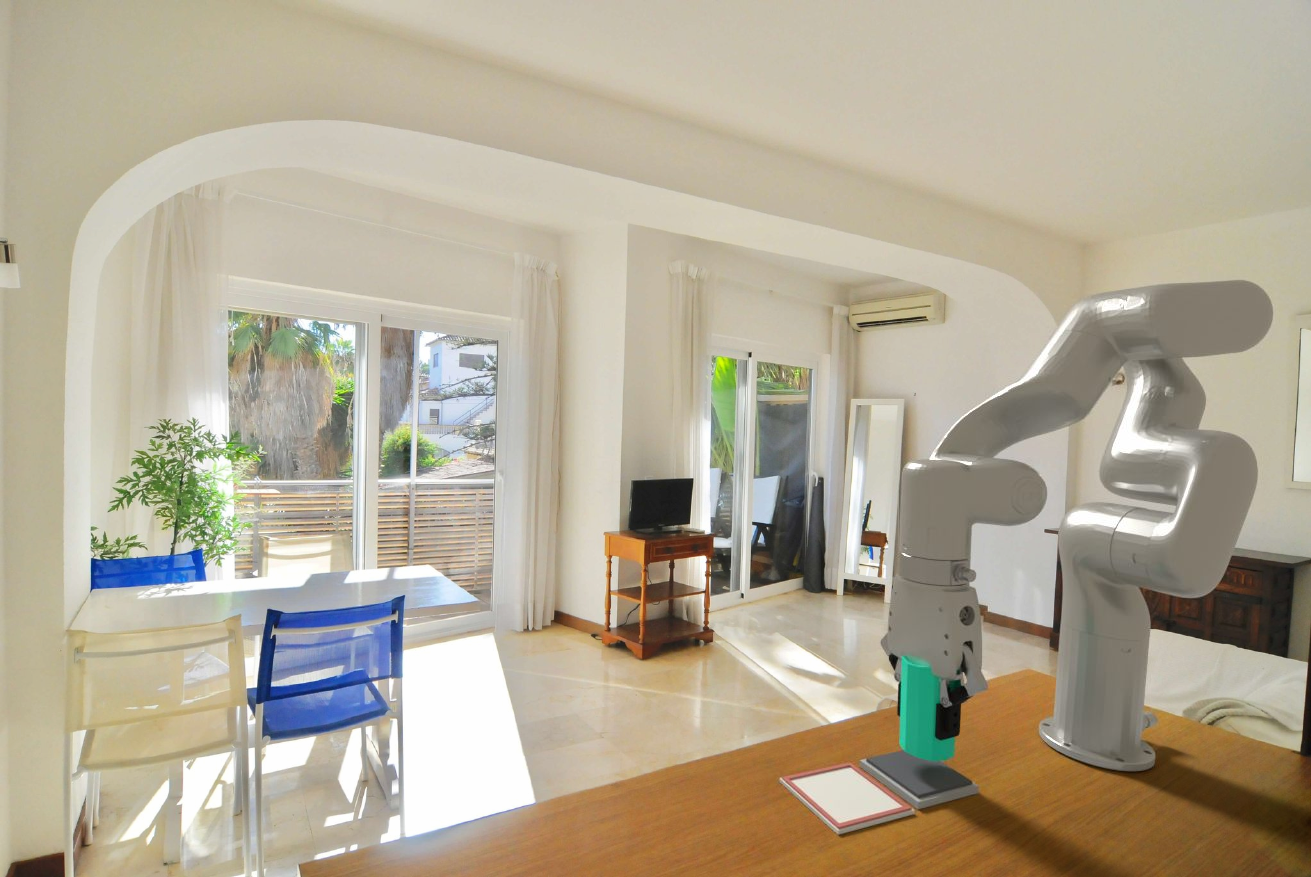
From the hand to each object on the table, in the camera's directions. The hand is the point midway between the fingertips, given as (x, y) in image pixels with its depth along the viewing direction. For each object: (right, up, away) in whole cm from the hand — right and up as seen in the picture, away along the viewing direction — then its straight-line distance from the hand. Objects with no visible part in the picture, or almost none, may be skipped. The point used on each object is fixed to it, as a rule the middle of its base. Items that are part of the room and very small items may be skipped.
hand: (927, 724), depth 78 cm
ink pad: (-1, -6, 0) cm, 6 cm away
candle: (0, -3, 0) cm, 3 cm away
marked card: (-11, -6, -4) cm, 13 cm away
